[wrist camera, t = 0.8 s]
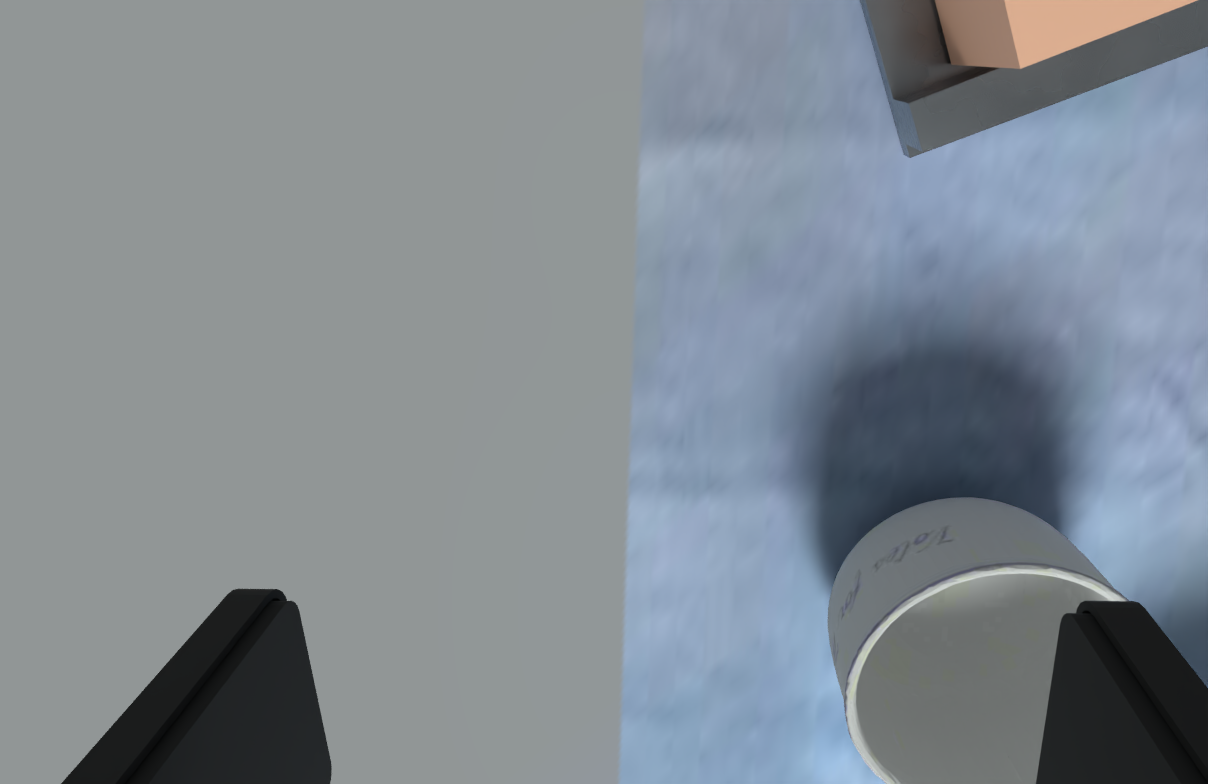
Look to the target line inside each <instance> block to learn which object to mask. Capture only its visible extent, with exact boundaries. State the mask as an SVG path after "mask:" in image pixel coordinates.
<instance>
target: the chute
mask: <svg viewBox="0 0 1208 784" xmlns="http://www.w3.org/2000/svg"><path fill="white" fill-rule="evenodd" d="M860 2H861V5H862V9H863V12H864V16H865V19H866V23H867V26H868V30H869V33H870V37H871V40H872V44H873V47H874V51H875V54H876V58H877V61H878V65H879V68H880V72H881V75H882V79H883V82H884V86H885V90H886V93H887V97H888V100H889V104H890V107H891V111H892V114H893V118H894V121H895V125H896V128H897V132H898V135H899V139H900V142H901V146H902V149H903V153H904V155H905V156H907V157H909V158H911V157H914V156H916V155H919V154H922V153H924V152H927V151H930V150H932V149H935V148H938V147H940V146H943V145H946V144H948V143H951V142H954V141H956V140H959V139H962V138H964V137H967V136H970V135H972V134H975V133H978V132H980V131H983V130H986V129H988V128H991V127H994V126H996V125H999V124H1002V123H1004V122H1007V121H1010V120H1012V119H1015V118H1018V117H1020V116H1023V115H1026V114H1028V113H1031V112H1034V111H1037V110H1039V109H1042V108H1045V107H1047V106H1050V105H1053V104H1055V103H1058V102H1061V101H1063V100H1066V99H1069V98H1071V97H1074V96H1077V95H1079V94H1082V93H1085V92H1087V91H1090V90H1093V89H1095V88H1098V87H1101V86H1103V85H1106V84H1109V83H1111V82H1114V81H1117V80H1119V79H1122V78H1125V77H1127V76H1130V75H1133V74H1135V73H1138V72H1141V71H1143V70H1146V69H1149V68H1151V67H1154V66H1157V65H1159V64H1162V63H1165V62H1167V61H1170V60H1173V59H1175V58H1178V57H1181V56H1183V55H1186V54H1189V53H1192V52H1194V51H1197V50H1200V49H1202V48H1205V47H1208V0H1197V1H1195V2H1192V3H1190V4H1187V5H1185V6H1182V7H1179V8H1177V9H1174V10H1172V11H1169V12H1166V13H1164V14H1161V15H1159V16H1156V17H1153V18H1151V19H1148V20H1146V21H1143V22H1141V23H1138V24H1135V25H1133V26H1130V27H1128V28H1125V29H1122V30H1120V31H1117V32H1115V33H1112V34H1109V35H1107V36H1104V37H1102V38H1099V39H1097V40H1094V41H1091V42H1089V43H1086V44H1084V45H1081V46H1078V47H1076V48H1073V49H1071V50H1068V51H1065V52H1063V53H1060V54H1058V55H1055V56H1052V57H1050V58H1047V59H1045V60H1042V61H1040V62H1037V63H1034V64H1032V65H1029V66H1027V67H1024V68H1021V69H1014V68H998V67H981V66H964V65H951V61H950V57H949V53H948V49H947V45H946V42H945V38H944V34H943V30H942V26H941V22H940V18H939V15H938V11H937V7H936V3H935V0H860Z"/></svg>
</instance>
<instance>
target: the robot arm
mask: <svg viewBox="0 0 1208 784" xmlns="http://www.w3.org/2000/svg"><path fill="white" fill-rule="evenodd" d="M330 781H331V760H330V756H329V751H328V746H327V742H326V736H325V732H324V727H323V723H322V717H321V713H320V708H319V703H318V698H317V693H316V689H315V685H314V679H313V674H312V670H311V665H310V660H309V655H308V651H307V646H306V641H305V636H304V632H303V627H302V623H301V617H300V613H299V609H298V607H297V605H296V603H295V602H292V601H287V599H286V597H285V595H284V594H283V592H282V591H280V590H277V589H236V590H233V591H231V592H230V593H229V594H228V595H227V596H226V597H225V598H224V599H223V600H222V601H221V603H220V604H219V605H218V606H217V607H216V608H215V609H214V611H213V612H212V613H211V614H210V615H209V616H208V617H207V619H206V620H205V621H204V622H203V623H202V624H201V625H200V626H199V628H198V629H197V630H196V631H195V632H194V633H193V634H192V636H191V637H190V638H189V639H188V640H187V641H186V642H185V644H184V645H183V646H182V647H181V648H180V649H179V650H178V651H177V653H176V654H175V655H174V656H173V657H172V658H171V659H170V661H169V662H168V663H167V664H166V665H165V666H164V667H163V669H162V670H161V671H160V672H159V673H158V674H157V675H156V676H155V678H154V679H153V680H152V681H151V682H150V684H148V686H147V687H146V688H145V689H144V690H143V691H142V692H141V694H140V695H139V696H138V697H137V698H136V699H135V700H134V702H133V703H132V704H131V705H130V706H129V707H128V708H127V710H126V711H125V712H124V713H123V714H122V716H120V717H119V719H118V720H117V721H116V722H115V723H114V724H113V726H112V727H111V728H110V729H109V730H108V731H107V732H106V733H105V735H104V736H103V737H102V738H101V739H100V740H99V741H98V743H97V744H96V745H95V746H94V747H93V748H92V749H91V750H90V752H89V753H88V754H87V755H86V756H85V757H84V759H83V760H82V761H81V762H80V763H79V764H78V765H77V767H76V768H75V769H74V770H73V771H72V772H71V773H70V774H69V775H68V777H67V778H66V779H65V780H64V781H63V782H62V783H61V784H330ZM1036 784H1208V688H1207V687H1206V686H1205V684H1204V683H1203V682H1202V680H1201V679H1200V678H1199V677H1198V675H1197V674H1196V673H1195V672H1194V670H1193V669H1192V668H1191V666H1190V665H1189V664H1188V663H1187V661H1186V660H1185V659H1184V658H1183V656H1182V655H1181V654H1180V653H1179V651H1178V650H1177V649H1176V647H1175V646H1174V645H1173V644H1172V642H1171V641H1170V640H1169V639H1168V637H1167V636H1166V635H1165V633H1164V632H1163V631H1162V630H1161V628H1160V627H1159V626H1158V625H1157V623H1156V622H1155V621H1154V619H1153V618H1152V617H1151V616H1150V614H1149V613H1148V612H1147V611H1146V609H1145V608H1144V607H1143V606H1142V605H1141V604H1140V603H1138V602H1134V601H1083V602H1081V603H1080V604H1079V606H1078V608H1077V610H1076V613H1066V614H1064V615H1063V617H1062V619H1061V623H1060V628H1059V634H1058V641H1057V647H1056V654H1055V660H1054V667H1053V674H1052V680H1051V687H1050V693H1049V700H1048V707H1047V713H1046V720H1045V726H1044V733H1043V739H1042V746H1041V753H1040V759H1039V766H1038V772H1037V779H1036Z"/></svg>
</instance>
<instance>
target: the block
mask: <svg viewBox="0 0 1208 784" xmlns="http://www.w3.org/2000/svg"><path fill="white" fill-rule="evenodd" d="M1195 1H1197V0H935V3H936V7H937V11H938V15H939V18H940V22H941V26H942V30H943V34H944V38H945V42H946V45H947V49H948V53H949V57H950V61H951V65H964V66H981V67H998V68H1014V69H1021V68H1024V67H1027V66H1029V65H1032V64H1034V63H1037V62H1040V61H1042V60H1045V59H1047V58H1050V57H1052V56H1055V55H1058V54H1060V53H1063V52H1065V51H1068V50H1071V49H1073V48H1076V47H1078V46H1081V45H1084V44H1086V43H1089V42H1091V41H1094V40H1097V39H1099V38H1102V37H1104V36H1107V35H1109V34H1112V33H1115V32H1117V31H1120V30H1122V29H1125V28H1128V27H1130V26H1133V25H1135V24H1138V23H1141V22H1143V21H1146V20H1148V19H1151V18H1153V17H1156V16H1159V15H1161V14H1164V13H1166V12H1169V11H1172V10H1174V9H1177V8H1179V7H1182V6H1185V5H1187V4H1190V3H1192V2H1195Z"/></svg>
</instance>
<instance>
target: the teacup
mask: <svg viewBox="0 0 1208 784" xmlns="http://www.w3.org/2000/svg"><path fill="white" fill-rule="evenodd" d="M1083 601H1129V600H1128V599H1127V598H1125V597H1124V596H1123V595H1122V594H1121V593H1119V592H1118V591H1117V590H1115V589H1114V588H1113V587H1112V585H1111V584H1110V583H1109V582H1108V581H1107V580H1106V578H1105V577H1104V576H1103V575H1102V574H1101V573H1100V572H1099V571H1098V570H1097V569H1096V567H1095V566H1094V565H1093V564H1092V563H1091V562H1090V561H1089V560H1088V559H1087V557H1086V556H1085V555H1084V554H1083V553H1081V552H1080V551H1079V550H1078V549H1077V548H1076V547H1075V546H1074V545H1073V544H1072V543H1071V542H1070V541H1069V540H1068V539H1067V538H1066V537H1065V536H1064V535H1062V534H1061V533H1060V532H1059V531H1057V530H1056V529H1055V528H1054V527H1052V526H1051V525H1050V524H1048V523H1047V522H1045V521H1044V520H1042V519H1040V518H1039V517H1037V516H1035V515H1033V514H1031V513H1029V512H1027V511H1025V510H1023V509H1021V508H1018V507H1015V506H1012V505H1009V504H1006V503H1003V502H999V501H995V500H989V499H983V498H972V497H962V498H946V499H939V500H934V501H929V502H925V503H921V504H918V505H915V506H913V507H910V508H907V509H905V510H903V511H900V512H898V513H896V514H894V515H893V516H891V517H889V518H887V519H886V520H884V521H883V522H881V523H880V524H878V525H877V526H876V527H874V528H873V529H872V530H871V531H869V532H868V533H867V534H866V535H865V536H864V537H863V538H862V539H861V540H860V541H859V542H858V543H857V544H856V546H855V547H854V548H853V549H852V550H851V552H850V553H849V554H848V556H847V557H846V559H845V561H844V562H843V564H842V566H841V568H840V570H839V572H838V573H837V576H836V579H835V582H834V585H833V587H832V591H831V596H830V600H829V607H828V632H829V641H830V647H831V652H832V657H833V662H834V666H835V670H836V674H837V678H838V682H839V685H840V689H841V692H842V695H843V699H844V707H845V716H846V721H847V726H848V731H849V734H850V737H851V739H852V741H853V743H854V745H855V747H856V748H857V750H858V751H859V753H860V755H861V756H862V758H863V760H864V762H865V763H866V764H867V765H868V767H869V768H870V769H871V770H872V771H873V772H874V773H875V774H876V775H877V776H878V777H880V778H881V779H882V780H883V781H884V782H885V783H886V784H1036V779H1037V772H1038V766H1039V759H1040V753H1041V746H1042V739H1043V733H1044V726H1045V720H1046V713H1047V707H1048V700H1049V693H1050V687H1051V680H1052V674H1053V667H1054V660H1055V654H1056V647H1057V641H1058V634H1059V628H1060V623H1061V619H1062V617H1063V615H1064V614H1066V613H1076V610H1077V608H1078V606H1079V604H1080V603H1081V602H1083Z"/></svg>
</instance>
